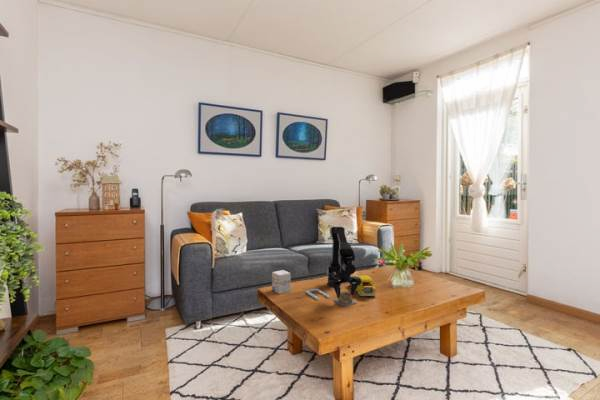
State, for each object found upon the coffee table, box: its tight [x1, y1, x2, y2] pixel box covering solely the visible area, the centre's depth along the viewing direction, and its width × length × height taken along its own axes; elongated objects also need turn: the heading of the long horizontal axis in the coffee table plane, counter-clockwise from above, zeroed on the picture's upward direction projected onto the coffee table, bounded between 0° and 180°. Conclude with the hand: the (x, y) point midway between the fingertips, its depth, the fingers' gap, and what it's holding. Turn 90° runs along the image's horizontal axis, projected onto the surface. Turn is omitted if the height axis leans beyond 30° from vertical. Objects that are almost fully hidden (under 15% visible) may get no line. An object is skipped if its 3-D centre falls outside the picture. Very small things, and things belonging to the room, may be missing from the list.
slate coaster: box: [333, 298, 357, 307], centre depth 178 cm, size 9×9×1 cm
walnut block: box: [339, 290, 353, 304], centre depth 178 cm, size 4×6×4 cm
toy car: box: [355, 275, 377, 297], centre depth 197 cm, size 12×25×10 cm, turn 5°
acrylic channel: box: [305, 288, 330, 301], centre depth 189 cm, size 8×14×1 cm, turn 28°
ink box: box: [271, 269, 292, 295], centre depth 196 cm, size 9×8×12 cm
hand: (344, 296), depth 178 cm, fingers open, 9 cm apart
